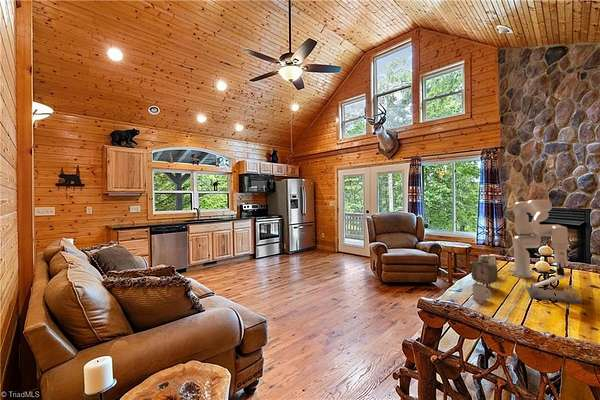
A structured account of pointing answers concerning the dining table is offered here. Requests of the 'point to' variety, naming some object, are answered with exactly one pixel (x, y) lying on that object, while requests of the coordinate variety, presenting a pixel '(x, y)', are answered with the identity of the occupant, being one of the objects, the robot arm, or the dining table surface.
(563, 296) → the clamp plate
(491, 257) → the candy bar box
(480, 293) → the grey rounded lump
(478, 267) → the tabletop clock
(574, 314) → the dining table surface
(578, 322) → the dining table surface
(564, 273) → the hold down bar
